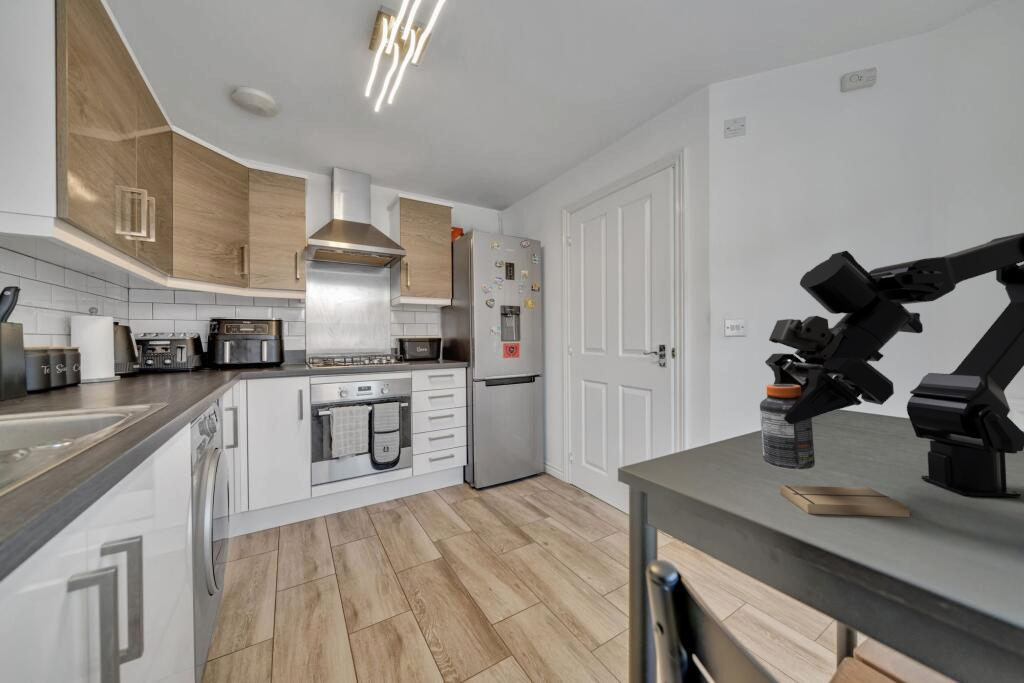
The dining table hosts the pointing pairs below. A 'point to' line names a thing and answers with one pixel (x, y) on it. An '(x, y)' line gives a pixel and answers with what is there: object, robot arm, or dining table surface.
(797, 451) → the pill bottle
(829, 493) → the oak board
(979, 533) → the dining table surface
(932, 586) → the dining table surface
